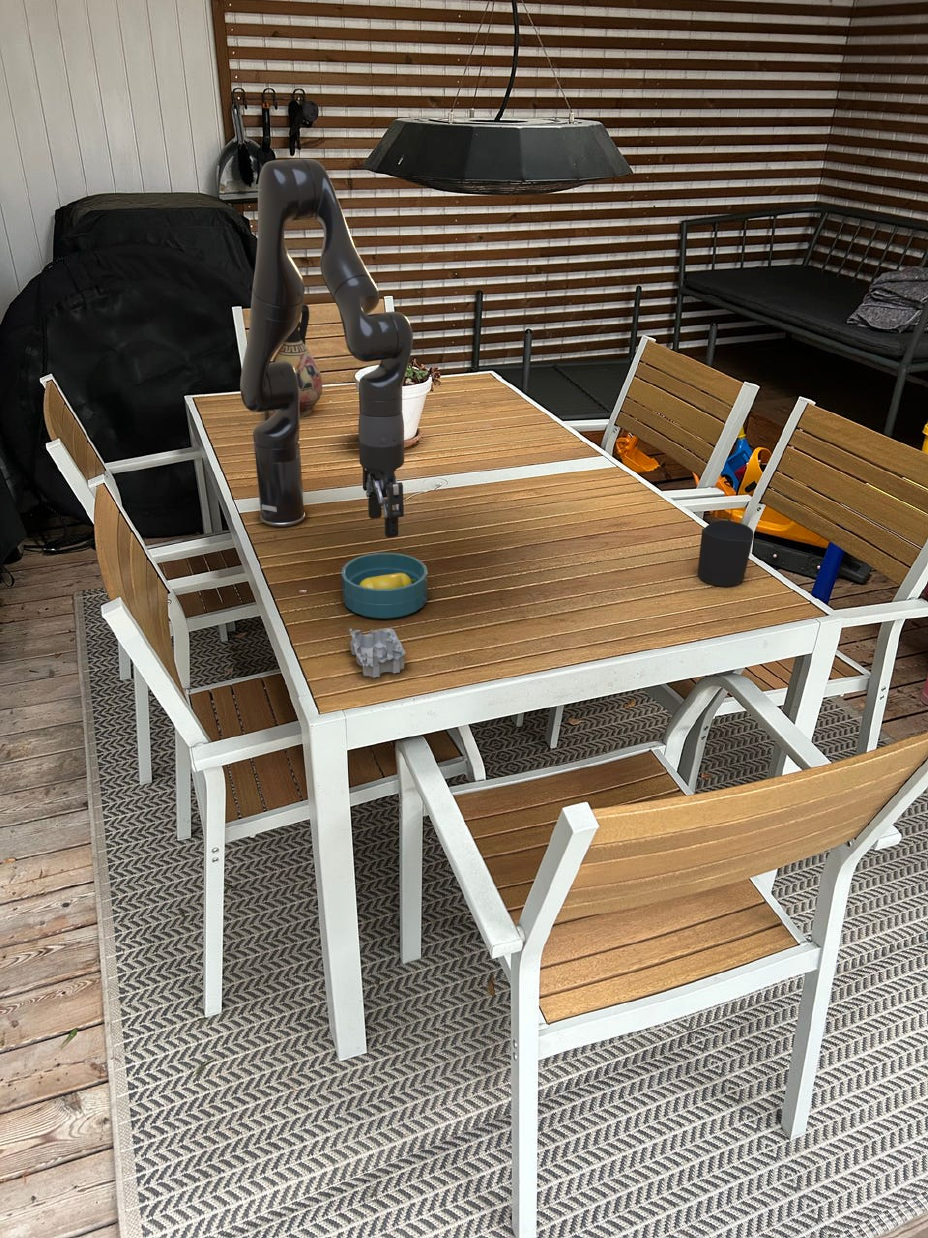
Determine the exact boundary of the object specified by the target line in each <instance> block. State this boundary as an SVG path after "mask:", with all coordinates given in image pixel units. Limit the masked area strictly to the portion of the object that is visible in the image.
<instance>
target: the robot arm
mask: <svg viewBox="0 0 928 1238" xmlns="http://www.w3.org/2000/svg"><path fill="white" fill-rule="evenodd" d="M257 187H258V188H257V241H256V242H257V243H256V244H257V245H256V256H255V266H254V273H253V274H254V275H253V276H254V277H253V282H252V287H251V288H252V289H251V290H252V291H251V300H250V315H249V316H250V317H249V327H248V337H247V343H246V346H245V351H244V352H245V353H244V358H243V361H242V367H241V371H240V372H241V373H240V381H239V382H240V383H239V389H240V398H241V401H242V403H243V405H244V407H245V408H246V409H247V410H248V411H250V412H253V413H264V421H262V422H261V423H259V424H258V425H257V426H255V427H254V429H253V432H252V434H253V435H252V438H253V447H254V448H253V449H254V458H255V459H254V460H255V469H256V479H257V490H258V500H259V501H258V502H259V511H260V515H259V517H260V523H262V524H264V525H266V526H269V527H275V528H285V527H292V526H296V525H299V524H300V523H302V522H304V520H305V519H306V513H305V503H304V488H303V487H304V486H303V472H302V471H303V470H302V458H301V443H300V429H301V420H300V418H301V417H299V384H298V378H297V374H296V371H295V369H294V367H293V366H292V365H291V364H290V363H289V362H286V361H281V362H272V360H273V359H272V358H274V357H273V356H274V355H275V354H276V353H277V352H278V350H279V349H280V347H281V346H282V345H283V343H284V342H285V340H286V339H287V338H288V337H289V336H290V334H291V333H292V332H293V331H294V329H295V328H296V326H297V324H298V322H299V321H301V318H302V307H303V303H304V299H305V290H306V285H305V281H304V278H303V276H302V273H301V271H300V269H299V268H298V266H297V264H296V263H295V261H294V258H293V257H292V256H291V254H290V252H289V250H288V247H287V246H286V241H285V230H286V225H287V223H288V222H291V221H292V222H293V221H304V220H313V219H315V220H316V221H317V222H318V224H319V225H320V227H321V229H322V231H323V241H322V248H321V253H320V259H319V261H320V262H319V265H320V266H319V267H320V274H321V277H322V281H323V282H324V285H325V286H326V288H327V290H328V292H329V294H330V296H331V297H332V300H333V301H334V303H335V305H336V307H337V309H338V312H339V316H340V321H341V325H342V330H343V334H344V338H345V339H344V340H345V344H346V348H347V350H348V351H349V353H350V354H351V355H352V357H353V358H354V359H356V360H357V361H360V362H363V363H370V362H376V361H380V362H379V364H378V366H377V367H376V368H375V369H374V370H372V371H370V372H367V373H366V374H364V375H362V376H361V378H360V379H359V381H358V404H359V405H358V406H359V407H358V408H359V411H358V412H359V414H358V422H357V423H358V425H357V427H358V455H359V457H358V460H359V464H360V466H361V467H362V489H363V492H365V496H366V498H367V504H368V505H367V506H368V510H367V511H368V517H369V518H370V519H371V520H376V519H381V517H382V516H383V517H384V535H385V537H386V538H388V539H390V538H396V537H398V536H399V518H404V517H405V511H404V510H405V509H404V508H405V507H404V505H405V504H404V484H403V482H402V481H401V482H400V481H399V482H398V478H397V476H396V473H395V472H396V471H397V470H398V469H400V468H402V467H403V466H404V464H405V422H404V415H403V414H404V413H403V386H404V382H405V378H406V373H407V369H408V365H409V362H410V359H411V355H412V350H413V345H414V344H413V343H414V332H413V328H412V325H411V322H410V321H409V319H408V317H407V316H406V315H405V314H403V313H402V312H400V311H387V312H386V311H385V312H378V313H372V312H373V311H374V310H375V309H376V308H377V306H378V305H379V302H380V297H381V296H380V291H379V288H378V287H377V286H378V285H376V283H375V281H374V279H373V277H372V275H371V273H370V271H369V270H368V268H367V267H366V265H365V264H364V261H363V260H362V258H361V255H360V254H359V251H358V250H357V248H356V246H355V243H354V241H353V240H354V239H353V238H352V235H351V233H350V230H349V225H348V223H347V221H346V217H345V215H344V211H343V209H342V207H341V204H340V201H339V199H338V196H337V193H336V191H335V188H334V186H333V182H332V180H331V178H330V176H329V174H328V172H327V170H326V169H325V167H324V166H323V164H322V163H321V162H319V161H318V160H317V159H313V158H290V159H274V160H270V161H267V162H265V163H264V164H263V166H262V168H261V171H260V173H259V177H258V185H257ZM271 411H274V413H273V414H272V415H271V416H270V417H269V412H271ZM382 512H383V513H382Z"/></svg>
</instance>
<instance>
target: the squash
mask: <svg viewBox="0 0 928 1238" xmlns="http://www.w3.org/2000/svg"><path fill="white" fill-rule="evenodd" d="M415 582H416V578H413V579H410V577H409V576H408V575H406V574H404V573H394V574H388V575H382V576H376V577H370V578H366V579H364V580H363V581H361V583H360V584H359V586H362V587H365V588H372V589H394V588H400V587H405V586H408V585H411V584H413V583H415Z"/></svg>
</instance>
